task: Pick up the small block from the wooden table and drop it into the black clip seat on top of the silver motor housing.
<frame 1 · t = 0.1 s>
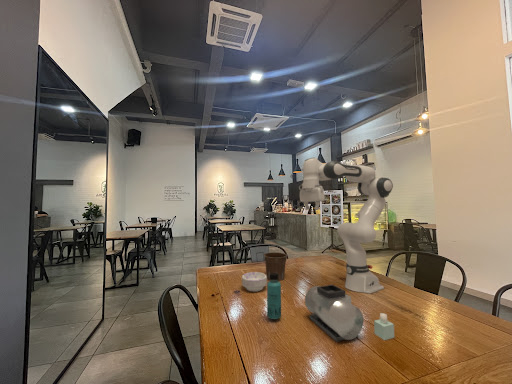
hand: (311, 209, 127), 48 cm above the table, tool pointing down, fingers open, 8 cm apart
motor: (332, 326, 92), on the table
beverage bottle: (274, 319, 99), on the table
paper bowls: (254, 289, 135), on the table
plant pot: (275, 278, 153), on the table
block: (384, 335, 86), on the table
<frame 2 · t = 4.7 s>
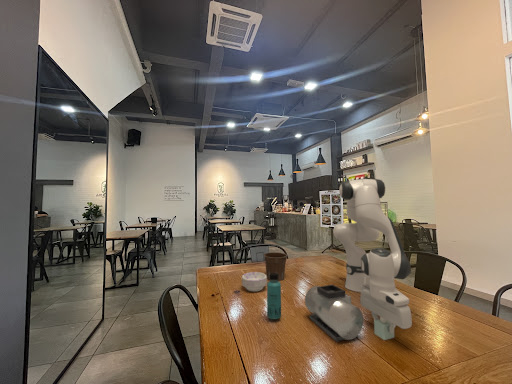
hand: (384, 328, 86), 3 cm above the table, tool pointing down, fingers closed on block, 4 cm apart
block: (384, 335, 86), on the table, touching gripper
everything else where it was.
when the fingers open (17 cm above the table, at t = 10.4 s): block stays where it is, resting on motor.
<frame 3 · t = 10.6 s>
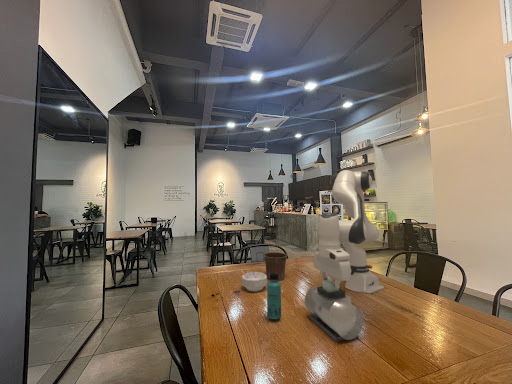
hand: (330, 284, 93), 17 cm above the table, tool pointing down, fingers open, 6 cm apart
block: (330, 293, 93), point 13 cm above the table, touching motor
everything else where it was.
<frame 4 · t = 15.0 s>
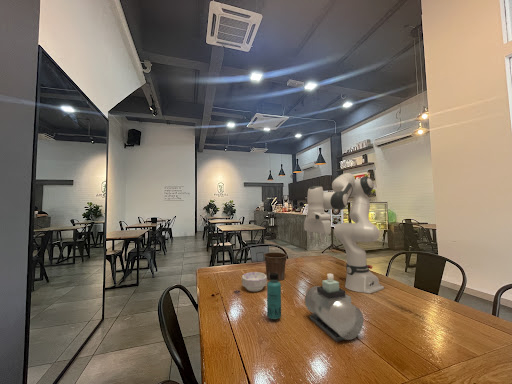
hand: (316, 241, 120), 31 cm above the table, tool pointing down, fingers open, 8 cm apart
nothing on the table moved.
at the end: block 0.1 cm off-centre on the motor, point 13.5 cm above the motor's base; block tilted 0°; the gripper is holding nothing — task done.
